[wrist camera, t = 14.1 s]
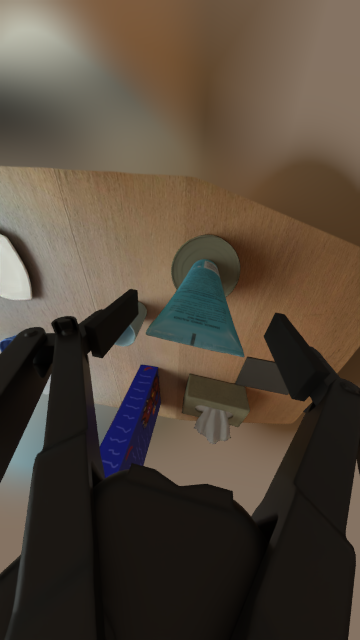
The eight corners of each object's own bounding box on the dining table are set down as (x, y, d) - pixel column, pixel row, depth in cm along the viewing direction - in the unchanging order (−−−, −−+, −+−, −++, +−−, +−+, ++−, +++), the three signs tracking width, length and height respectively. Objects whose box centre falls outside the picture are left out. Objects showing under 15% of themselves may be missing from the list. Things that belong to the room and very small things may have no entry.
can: (215, 218, 29) (216, 216, 23) (245, 272, 33) (253, 282, 27) (167, 258, 34) (157, 265, 28) (198, 301, 38) (195, 314, 32)
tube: (182, 284, 29) (146, 358, 13) (184, 256, 27) (143, 307, 11) (223, 289, 28) (237, 374, 12) (229, 261, 26) (258, 323, 10)
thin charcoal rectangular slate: (307, 368, 43) (307, 369, 42) (286, 393, 49) (287, 395, 49) (247, 356, 44) (247, 357, 44) (235, 383, 51) (235, 384, 50)
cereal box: (141, 364, 54) (78, 488, 29) (157, 367, 53) (108, 497, 28) (146, 401, 65) (106, 513, 40) (160, 403, 64) (127, 519, 39)
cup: (140, 327, 45) (123, 351, 36) (118, 309, 43) (95, 330, 34) (156, 311, 42) (141, 335, 33) (133, 291, 40) (111, 310, 31)
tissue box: (184, 390, 57) (176, 441, 44) (188, 373, 52) (181, 424, 39) (236, 403, 56) (243, 459, 42) (246, 386, 50) (258, 444, 37)
